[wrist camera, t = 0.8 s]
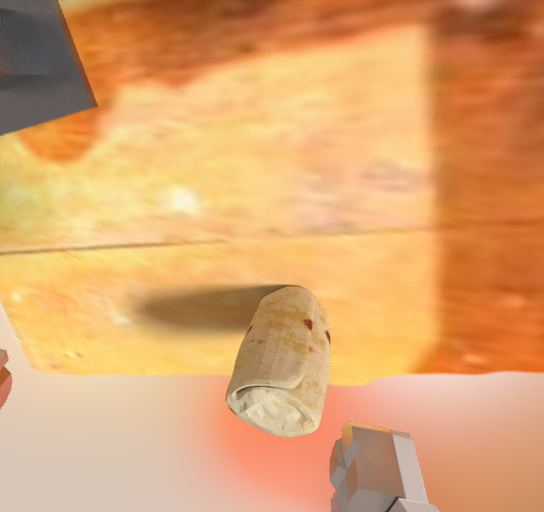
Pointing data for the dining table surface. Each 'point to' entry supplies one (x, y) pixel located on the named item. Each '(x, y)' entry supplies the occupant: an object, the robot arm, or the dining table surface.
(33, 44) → the stand base
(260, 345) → the food model
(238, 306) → the dining table surface
